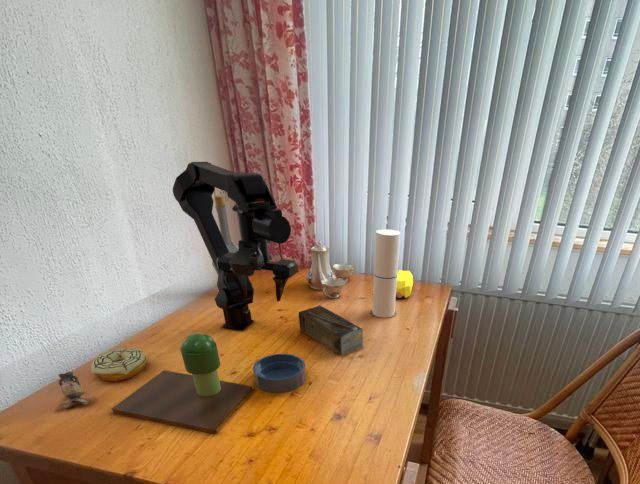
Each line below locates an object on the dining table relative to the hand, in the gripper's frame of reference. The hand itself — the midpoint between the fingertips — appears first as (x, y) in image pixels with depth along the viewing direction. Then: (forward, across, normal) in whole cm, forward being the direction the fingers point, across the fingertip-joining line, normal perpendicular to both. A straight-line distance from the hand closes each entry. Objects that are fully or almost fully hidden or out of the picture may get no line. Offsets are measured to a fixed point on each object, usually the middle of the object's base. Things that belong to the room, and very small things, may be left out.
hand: (261, 298), depth 98 cm
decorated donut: (+12, -24, -24) cm, 36 cm away
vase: (+12, -24, -36) cm, 45 cm away
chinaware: (+12, +2, +45) cm, 47 cm away
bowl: (+12, +12, -17) cm, 24 cm away
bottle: (+12, -26, +28) cm, 40 cm away
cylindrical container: (+12, +26, +29) cm, 41 cm away
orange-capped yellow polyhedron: (+12, +28, +50) cm, 59 cm away
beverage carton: (+12, +16, +6) cm, 21 cm away
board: (+12, -3, -30) cm, 32 cm away
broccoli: (+11, 0, -26) cm, 29 cm away
